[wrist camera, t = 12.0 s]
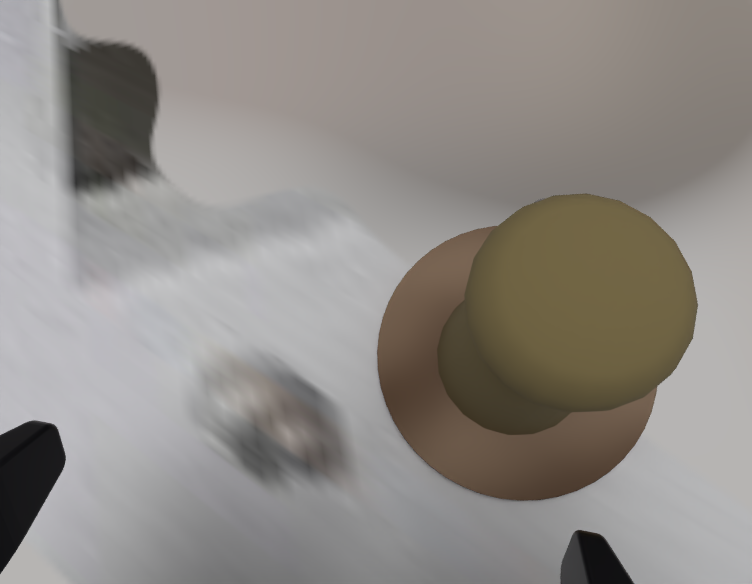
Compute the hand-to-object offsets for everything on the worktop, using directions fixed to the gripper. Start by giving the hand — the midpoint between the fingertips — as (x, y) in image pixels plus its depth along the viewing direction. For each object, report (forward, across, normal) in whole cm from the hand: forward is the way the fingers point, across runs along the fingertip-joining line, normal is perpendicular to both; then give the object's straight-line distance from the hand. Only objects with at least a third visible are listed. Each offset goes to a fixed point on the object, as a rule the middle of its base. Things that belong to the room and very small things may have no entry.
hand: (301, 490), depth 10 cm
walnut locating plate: (+13, -5, +6) cm, 15 cm away
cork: (+13, -5, +6) cm, 15 cm away
